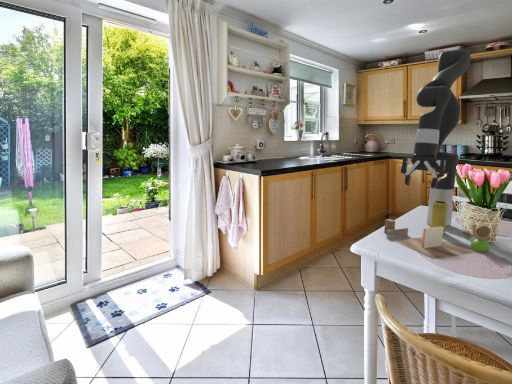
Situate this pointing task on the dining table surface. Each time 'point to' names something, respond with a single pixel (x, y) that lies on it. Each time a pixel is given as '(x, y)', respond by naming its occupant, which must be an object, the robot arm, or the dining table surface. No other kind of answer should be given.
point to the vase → (439, 214)
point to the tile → (432, 237)
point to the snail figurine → (480, 238)
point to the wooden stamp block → (392, 231)
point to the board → (433, 248)
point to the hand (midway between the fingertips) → (419, 186)
